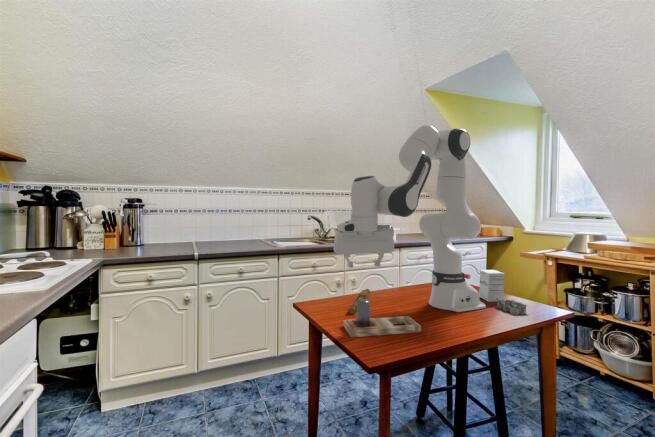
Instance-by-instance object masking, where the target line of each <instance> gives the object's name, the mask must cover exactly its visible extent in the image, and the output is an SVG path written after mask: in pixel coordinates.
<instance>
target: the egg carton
mask: <svg viewBox="0 0 655 437" xmlns="http://www.w3.org/2000/svg"><path fill="white" fill-rule="evenodd" d="M496 299H497V300H499V301H498V302H496V303H497V304H496V307H497V309H502V310H503V311H505V312H509V313H510V314H511V315H519V314H522V315H523V314H525V315H526V313H527V306H529V304H524V303H522V302H519V301H516V300H515V299H506V300H504V299H503V301H501V300H500V299H498V298H496Z"/></svg>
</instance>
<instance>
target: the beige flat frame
mask: <svg viewBox="0 0 655 437" xmlns="http://www.w3.org/2000/svg"><path fill="white" fill-rule="evenodd" d="M402 324H403V325H402ZM343 327H344V329H345V331H346V332H347V333H348V334H349V336H350V337H351V338H357V337H359V338H361V337H373V336H384V335H385V336H387V335H399V334H412V333H413V334H414V333H421V332H422V325H421V324H419V323H418V322H416V320H414V319H413V318H412V317H411V316H409V315H404V316H403V315H402V316H392V317H391V316H388V317H375V318H374V317H372V318H371V317H370V327H360V328H357V318H353V319H344V320H343Z"/></svg>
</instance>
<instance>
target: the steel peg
mask: <svg viewBox="0 0 655 437" xmlns="http://www.w3.org/2000/svg"><path fill="white" fill-rule="evenodd" d="M356 300H357V311H356V319H357V327H356V328H360V327H370V318H371V300H370V299H359V300H358V299H356Z"/></svg>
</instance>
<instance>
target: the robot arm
mask: <svg viewBox="0 0 655 437" xmlns="http://www.w3.org/2000/svg"><path fill="white" fill-rule="evenodd" d="M470 147H471V137H470V134H469V132H468V131H467V130H466V129H464V128H458V127H456V128H453V129H452V128H451V129H442V130H438V129H436V128H435V127H434V126H432V125H428V124H427V125H425V124H424V125H422V126H420V127H418V128H417V129H416V130H414V131H413V132H412V133H411V135H410V136H409V137H408V138H407V139H406V141H405V142H404V143H403V145H402V146H401V148H400V151H399V153H398V160H399V162H400V165H401V166H402V167H403V168H404V169H405V170H406V171H407V172H410V173H409V174H408V176H407V179H406V181H405V182H404V183H402V184H400V185H396V186H395V185H394V186H385V185H384V184H382V183H380V182H379V181H378V180H377V178H376V176H374V175H366V176H359V177H356V178H354V179H353V180H352V183H351V191H350V206H351V214H350V219H349V220H346V221H344V222H340V223H338V224H337V225H336V229H337V230H338V231H337V232H335V235H334V239H333V252H334V253H335V254H337V255H343V257H344V258H345V260H346V262H347V268H349V269H350V268H354V262H353V261H351V260H350V257H351V255H357V254H358V255H361V254H363V255H364V254H377V257H378V258H377V259H375V260H374V266H375V267H381V262H382V260H383V259H384V257H385V256H384V255H385V254H386V253H393V252H394V250H395V241H394V239H395V238H394V235H395V229H394V227H393V226H391V225H390V224H379V222H378V220H379V219H378V218H379V216H378V215H384V216H396V217H401V218H407V217H409V216H411V215H412V214H413V213H414V212H415V211H416V209H417V208H418V205H419V200H420V195H421V193H422V191H423V189H424V187H425V184H426V182H427V180H428V178H429V174H430V172H431V169H432V160H433V161H435V160H438V161H439V166H438V171H437V183H436V197H437V199H438V200H439V201H440V202H442V203H444V204H445V207H446V211H432V212H431V211H429V212H426V213H423V214H422V215H421V217H420V220H419V224H418V225H419V228H420V231H421V233H422V234H423V235H424V236H425V237H426V239H427V240H428V242H429V243H430V245H431V249H432V254H433V255H432V256H433V269H432V271H431V272H432V273H431V274H432V275H431V281H432V282H431V283H432V286H431V293H430V296H429V297H430V298H429V300H428V305H430V306H431V307H433V308H435V309H436V308H437V309H440V310H445V311H453V312H456V313H460V312H461V313H463V312H467V311H474V310H480V309H482V310H483V309H486V308H487V306H486V303H484V302H483V301H481V300H480V297H479V290H477V289H476V288H474V287H473V285H471V284H470V283H469V282H467V281H466V279H467V280H470V279H471V276H472V275H471V274H469V273H467V272H466V273H464V272H463V270H462V269H463V268H462V267H463V265H462V264H463V263H462V262H463V255H462V253H461V251H460V250H459V249H458V248H456V247H455V246H454V245H453V243H452V240H462V241H463V240H473V239H476V237H478V235H479V233H480V232H481V229H482V225H481V224H482V223H481V220H480V219H479V217H478V215H476V214H475V213H473V211H472V210H471V209H470V207H469V204H468V202H467V199H466V198H467V197H466V186H467V184H466V183H467V165H466V156H467V153H468V152H469V150H470Z"/></svg>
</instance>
